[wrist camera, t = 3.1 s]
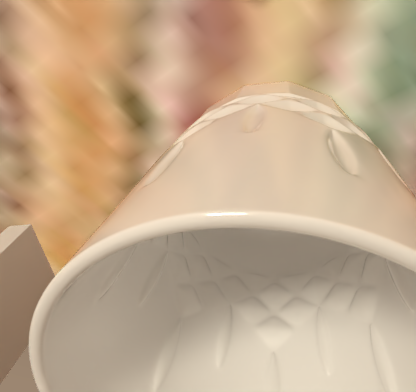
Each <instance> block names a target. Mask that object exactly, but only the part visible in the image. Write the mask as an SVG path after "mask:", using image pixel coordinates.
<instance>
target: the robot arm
mask: <svg viewBox="0 0 416 392" xmlns="http://www.w3.org/2000/svg"><path fill="white" fill-rule="evenodd" d="M54 277H55V275H54V273H53V271H52V269H51V267H50V264H49V262H48V260H47V258H46V256H45V254H44V251H43V249H42V247H41V245H40V243H39V241H38V238H37V236H36V234H35V232H34V230H33V228H32V225H31V224H29V225H17V226H9V227H8V228H7V229H5V230H4V231H3V232H2V233H1V234H0V384H1V383H2V381H3V379H4V378H5V377H6V375H7V374H8V373H9V371H10V370H11V368H12V367H13V366H14V364H15V363H16V361H17V360H18V358H19V357H20V355H21V354H22V353H23V351H24V350H25V348H26V347H27V345H28V344H29V331H30V326H31V321H32V317H33V314H34V311H35V309H36V306H37V304H38V302H39V300H40V298H41V296H42V294H43V292H44V291H45V289H46V288H47V286H48V285H49V283H50V282H51V281H52V279H53V278H54Z"/></svg>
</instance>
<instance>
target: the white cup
mask: <svg viewBox="0 0 416 392" xmlns="http://www.w3.org/2000/svg"><path fill="white" fill-rule="evenodd" d="M29 357H30V365H31V369H32V374H33V377H34V380H35V383H36V385H37V388H38V391H39V392H416V197H415V195H414V194H413V193H412V191H411V190H410V189H409V187H408V186H407V185H406V183H405V182H404V181H403V179H402V178H401V176H400V175H399V174H398V172H397V171H396V170H395V169H394V167H393V166H392V165H391V163H390V162H389V161H388V159H387V158H386V157H385V156H384V155H383V153H382V152H381V150H380V149H379V148H378V147H377V146H376V145H375V144H374V143H373V142H372V141H371V139H370V138H369V137H368V136H367V134H366V133H365V132H364V131H363V130H362V129H361V128H360V127H358V126H357V125H356V124H354V123H353V122H352V120H351V119H350V118H349V117H348V116H347V115H346V114H345V113H344V111H343V110H342V109H341V108H340V107H339V106H338V105H337V104H336V103H335V101H334V100H333V99H332V98H331V97H330V96H328V95H325V94H322V93H320V92H317V91H314V90H311V89H309V88H306V87H303V86H301V85H298V84H295V83H292V82H290V81H283V82H273V83H264V84H254V85H245V86H243V87H241V88H239V89H238V90H236V91H235V92H233V93H231V94H230V95H228V96H226V97H225V98H223V99H222V100H220V101H218V102H217V103H215V104H214V105H212V106H210V107H209V108H208V109H207V110H206V111H205V112H204V114H203V115H202V116H201V118H199V119H198V120H197V121H196V122H195V123H193V124H192V125H191V126H190V127H189V128H188V129H187V130H186V131H185V132H184V133H182V135H181V136H180V137H179V138H178V139H177V140H176V142H175V143H174V144H173V145H172V146H171V147H170V148H169V149H167V150H166V151H165V152H164V153H163V154H162V155H161V157H160V158H159V159H158V160H157V161H156V162H155V163H154V164H153V166H152V167H151V168H150V169H149V170H148V171H147V173H146V174H145V175H144V176H143V177H142V178H141V179H140V181H139V182H138V183H137V184H136V185H135V186H134V187H133V189H132V190H131V191H130V192H129V193H128V194H127V196H126V197H125V198H124V199H123V200H122V201H121V202H120V204H119V205H118V206H117V207H116V208H115V209H114V210H113V212H112V213H111V214H110V215H109V216H108V217H107V218H106V219H105V221H104V222H103V223H102V224H101V225H100V226H99V227H98V229H97V230H96V231H95V232H94V233H93V234H92V235H91V236H90V237H89V239H88V240H87V241H86V242H85V243H84V244H83V245H82V246H81V248H80V249H79V250H78V251H77V252H76V253H75V254H74V255H73V257H72V258H71V259H70V260H69V261H68V262H67V263H66V264H65V266H64V267H63V268H62V269H61V270H60V271H59V272H58V273H57V274H56V276H55V277H54V278H53V279H52V281H51V282H50V283H49V285H48V286H47V288H46V289H45V291H44V292H43V294H42V296H41V298H40V300H39V302H38V304H37V306H36V309H35V311H34V314H33V317H32V321H31V326H30V331H29Z"/></svg>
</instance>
